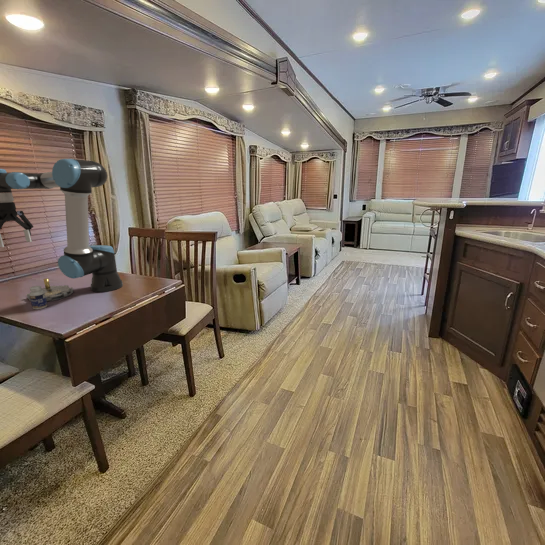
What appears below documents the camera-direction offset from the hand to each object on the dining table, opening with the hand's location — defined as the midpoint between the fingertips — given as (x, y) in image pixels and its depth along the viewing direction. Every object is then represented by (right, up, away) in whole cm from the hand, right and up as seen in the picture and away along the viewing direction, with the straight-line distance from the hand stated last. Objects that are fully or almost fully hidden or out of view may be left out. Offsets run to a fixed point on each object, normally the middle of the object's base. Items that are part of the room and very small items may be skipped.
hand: (15, 244), depth 150 cm
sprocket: (+21, -26, -3) cm, 34 cm away
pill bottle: (+26, -31, -17) cm, 44 cm away
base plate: (+21, -26, -3) cm, 34 cm away
